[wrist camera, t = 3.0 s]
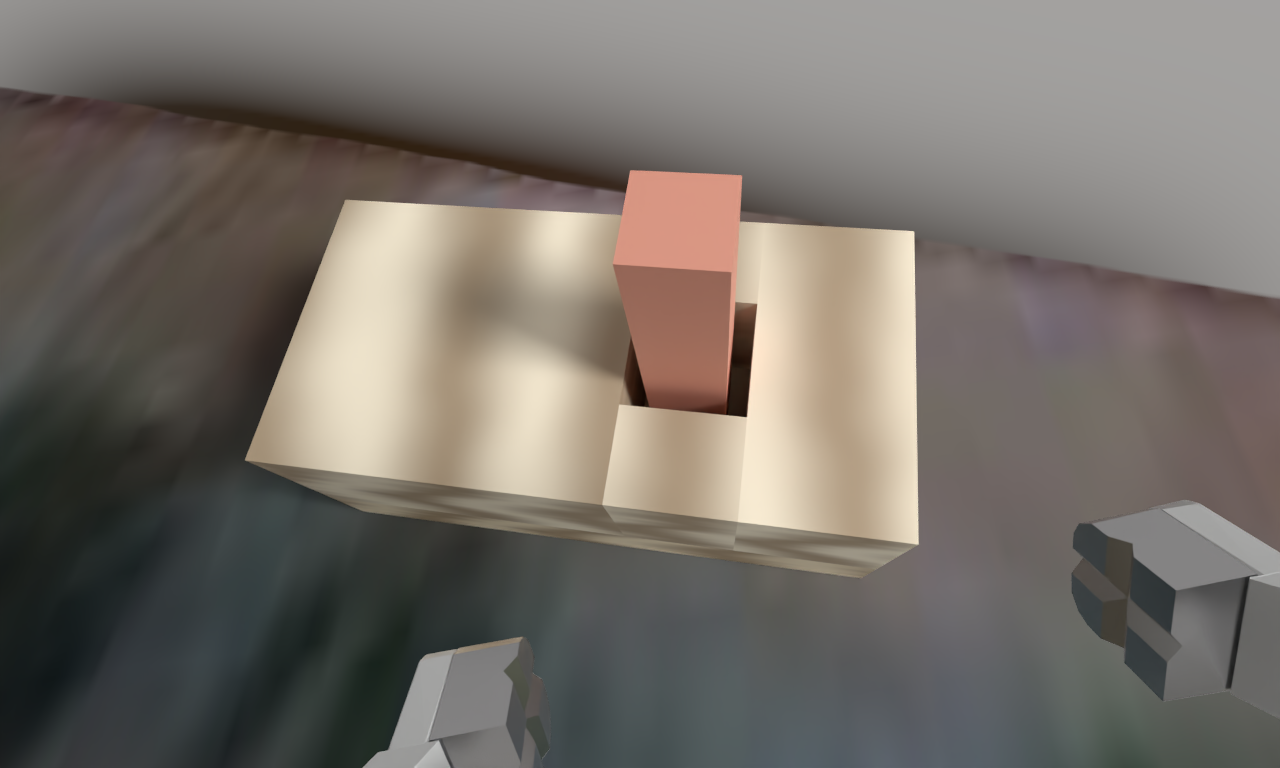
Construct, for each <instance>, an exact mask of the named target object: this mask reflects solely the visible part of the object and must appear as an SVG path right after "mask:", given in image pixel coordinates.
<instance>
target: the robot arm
mask: <svg viewBox="0 0 1280 768" xmlns="http://www.w3.org/2000/svg"><path fill="white" fill-rule="evenodd" d="M1073 548H1074V549H1075V550H1076V551H1077V552H1078V553H1079V554H1080V555H1081V557H1082V560H1081V561H1080V562H1079V564H1078V565H1077V566H1076V568H1075V569H1074V570H1073V572H1072V594H1073V597H1074V600H1075V602H1076V605H1077V608H1078V611H1079V612H1080V614H1081V615H1082V617H1083V619H1084V620H1085V622H1086V623H1087V625H1088V626H1089V627H1090V628H1091V629H1092V630H1093V631H1094V632H1095V633H1096V634H1097V635H1098V636H1099V637H1100V638H1101V639H1103V640H1105V641H1108V642H1110V643H1112V644H1115V645H1117V646H1119V647H1122V648H1124V662H1125V664H1126V665H1127V666H1128V667H1129V668H1130V669H1131V670H1132V671H1133V672H1134V673H1135V674H1136V675H1137V676H1138V677H1139V678H1140V679H1141V680H1142V681H1143V682H1144V683H1145V684H1146V685H1147V686H1148V687H1149V688H1150V689H1151V690H1152V691H1153V692H1154V693H1155V694H1156V695H1157V696H1158V697H1159V698H1160V699H1161V700H1162V701H1169V700H1175V699H1181V698H1187V697H1193V696H1199V695H1205V694H1211V693H1217V692H1223V691H1229V690H1231V692H1230V694H1232V695H1234V696H1236V697H1238V698H1240V699H1242V700H1244V701H1245V702H1247V703H1249V704H1251V705H1253V706H1255V707H1257V708H1259V709H1261V710H1263V711H1265V712H1267V713H1269V714H1271V715H1273V716H1275V717H1277V718H1279V719H1280V553H1279V552H1278V551H1276V550H1274V549H1273V548H1271V547H1269V546H1268V545H1266V544H1265V543H1263V542H1261V541H1260V540H1258V539H1256V538H1255V537H1253V536H1251V535H1250V534H1248V533H1247V532H1245V531H1243V530H1242V529H1240V528H1238V527H1237V526H1235V525H1234V524H1232V523H1230V522H1229V521H1227V520H1225V519H1224V518H1222V517H1221V516H1219V515H1217V514H1216V513H1214V512H1212V511H1211V510H1209V509H1208V508H1206V507H1204V506H1203V505H1201V504H1199V503H1196V502H1192V501H1188V500H1182V501H1178V502H1174V503H1169V504H1165V505H1160V506H1156V507H1151V508H1149V509H1148V510H1141V511H1137V512H1132V513H1127V514H1122V515H1118V516H1113V517H1108V518H1103V519H1098V520H1094V521H1089V522H1084V523H1079V524H1078V526H1077V528H1076V530H1075V532H1074V537H1073ZM533 666H534V654H533V651H532V649H531V646H530V643H529V641H528V639H526V638H525V637H518V638H513V639H507V640H501V641H496V642H490V643H485V644H479V645H473V646H468V647H462V648H459V649H454V650H449V651H443V652H438V653H432V654H427V655H425V656H424V657H423V658H422V659H421V660H420V662H419V663H418V666H417V669H416V672H415V675H414V678H413V681H412V683H411V686H410V689H409V692H408V695H407V698H406V700H405V703H404V706H403V709H402V712H401V715H400V718H399V720H398V723H397V726H396V729H395V732H394V735H393V737H392V740H391V743H390V746H389V749H388V750H387V751H383V752H378V753H377V754H376V755H375V756H374V757H373V758H372V759H371V760H370V761H369V762H368V763H367V764H366V765H365V766H364V767H363V768H544V766H543V763H542V759H543V757H544V756H545V754H546V753H547V752H548V750H549V749H550V741H551V718H550V707H549V702H548V697H547V692H546V689H545V686H544V683H543V680H542V679H541V678H539V677H538V676H536V675H535V674H533Z"/></svg>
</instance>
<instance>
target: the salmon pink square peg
mask: <svg viewBox="0 0 1280 768" xmlns="http://www.w3.org/2000/svg"><path fill="white" fill-rule="evenodd" d="M741 187H742V175H722V174H699V173H678V172H655V171H633V170H632V171H630V176H629V181H628V186H627V192H626V197H625V202H624V208H623V213H622V218H621V223H620V229H619V234H618V239H617V244H616V250H615V255H614V260H613V267H614V271H615V275H616V279H617V283H618V287H619V291H620V295H621V298H622V302H623V306H624V310H625V314H626V318H627V322H628V326H629V330H630V333H631V337H632V341H633V345H634V349H635V353H636V357H637V361H638V365H639V368H640V372H641V376H642V380H643V384H644V388H645V392H646V396H647V400H648V404H649V407H650V408H659V409H669V410H679V411H689V412H699V413H709V414H719V415H728V405H729V395H730V385H731V369H732V351H733V333H734V314H735V296H736V278H737V260H738V242H739V224H740V204H741Z"/></svg>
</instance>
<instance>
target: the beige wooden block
mask: <svg viewBox="0 0 1280 768" xmlns="http://www.w3.org/2000/svg"><path fill="white" fill-rule="evenodd" d="M621 218H622V215H608V214H590V213H572V212H554V211H536V210H518V209H500V208H482V207H463V206H445V205H427V204H409V203H391V202H373V201H355V200H345V203H344V205H343V208H342V210H341V213H340V216H339V218H338V221H337V223H336V226H335V228H334V231H333V234H332V236H331V239H330V241H329V244H328V247H327V249H326V252H325V254H324V257H323V259H322V262H321V265H320V267H319V270H318V272H317V275H316V278H315V280H314V283H313V285H312V288H311V290H310V293H309V296H308V298H307V301H306V303H305V306H304V309H303V311H302V314H301V316H300V319H299V321H298V324H297V327H296V329H295V332H294V334H293V337H292V340H291V342H290V345H289V347H288V350H287V352H286V355H285V358H284V360H283V363H282V365H281V368H280V371H279V373H278V376H277V378H276V381H275V383H274V386H273V389H272V391H271V394H270V396H269V399H268V402H267V404H266V407H265V409H264V412H263V414H262V417H261V420H260V422H259V425H258V427H257V430H256V433H255V435H254V438H253V440H252V443H251V445H250V448H249V451H248V453H247V456H246V458H245V461H248V462H250V463H252V464H255V465H257V466H259V467H261V468H264V469H266V470H268V471H271V472H273V473H275V474H278V475H280V476H282V477H285V478H287V479H289V480H292V481H294V482H296V483H299V484H301V485H303V486H305V487H308V488H310V489H312V490H315V491H317V492H319V493H322V494H324V495H326V496H329V497H331V498H333V499H336V500H338V501H340V502H343V503H345V504H347V505H349V506H352V507H354V508H356V509H359V510H361V511H364V512H371V513H379V514H386V515H393V516H401V517H408V518H416V519H423V520H431V521H438V522H446V523H453V524H460V525H468V526H475V527H483V528H490V529H498V530H505V531H513V532H520V533H527V534H535V535H542V536H550V537H557V538H565V539H572V540H580V541H587V542H595V543H602V544H609V545H617V546H624V547H632V548H639V549H647V550H654V551H662V552H669V553H676V554H684V555H691V556H699V557H706V558H714V559H721V560H729V561H736V562H743V563H751V564H758V565H766V566H773V567H781V568H788V569H796V570H803V571H811V572H818V573H825V574H833V575H840V576H848V577H855V578H862V577H864V576H866V575H867V574H869V573H871V572H872V571H874V570H876V569H877V568H879V567H881V566H883V565H884V564H886V563H888V562H889V561H891V560H893V559H895V558H896V557H898V556H900V555H901V554H903V553H905V552H906V551H908V550H910V549H912V548H913V547H915V546H917V545H918V476H917V404H916V331H915V259H914V231H898V230H880V229H861V228H844V227H826V226H808V225H789V224H771V223H753V222H740V224H739V242H738V260H737V278H736V296H735V314H734V333H733V351H732V369H731V385H730V395H729V405H728V415H719V414H709V413H699V412H689V411H679V410H669V409H659V408H650V407H649V404H648V400H647V396H646V392H645V388H644V384H643V380H642V376H641V372H640V368H639V365H638V361H637V357H636V353H635V349H634V345H633V341H632V337H631V333H630V330H629V326H628V322H627V318H626V314H625V310H624V306H623V302H622V298H621V295H620V291H619V287H618V283H617V279H616V275H615V271H614V267H613V260H614V255H615V250H616V244H617V239H618V234H619V229H620V223H621Z"/></svg>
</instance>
